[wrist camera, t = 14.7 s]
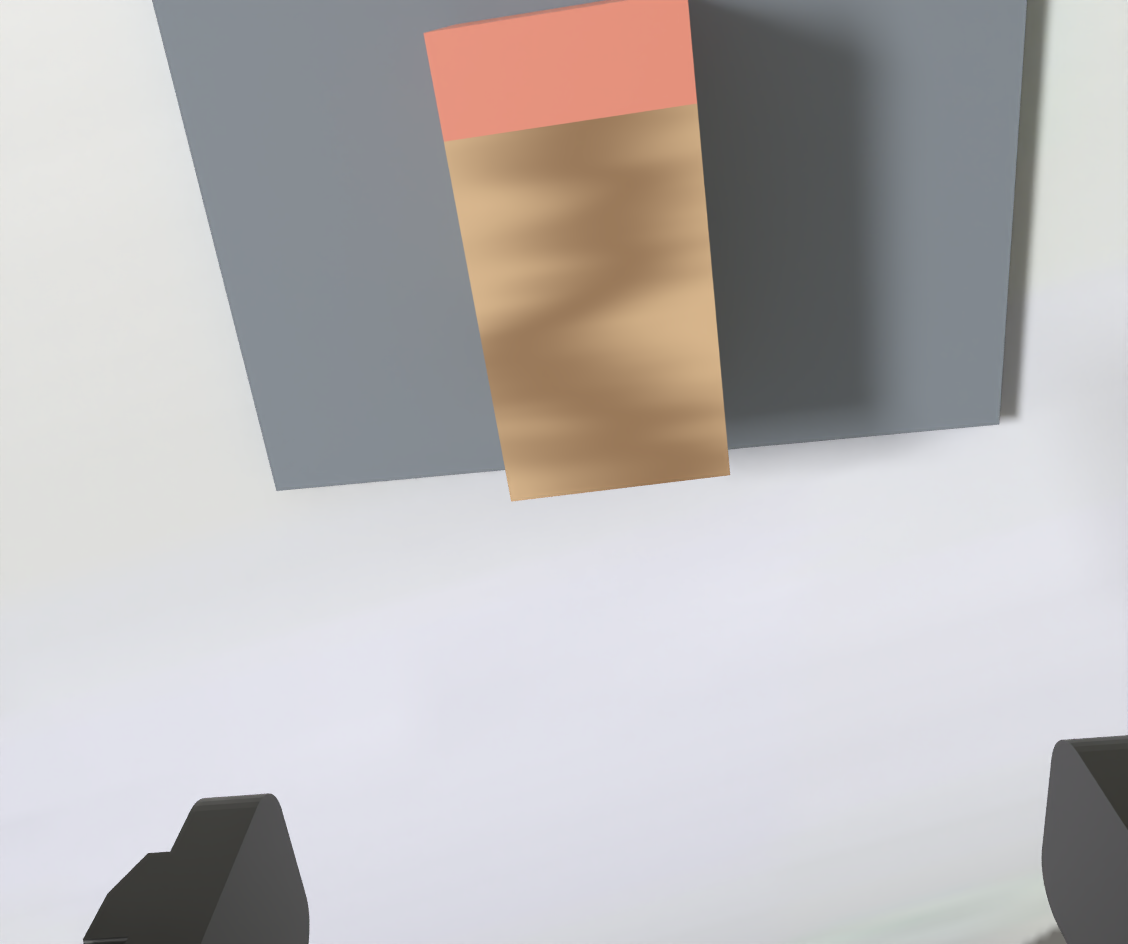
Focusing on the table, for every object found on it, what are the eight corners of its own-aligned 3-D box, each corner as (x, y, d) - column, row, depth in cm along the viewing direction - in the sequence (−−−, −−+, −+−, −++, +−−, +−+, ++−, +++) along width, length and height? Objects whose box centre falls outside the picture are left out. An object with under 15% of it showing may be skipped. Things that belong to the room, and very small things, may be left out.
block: (511, 501, 24) (423, 32, 20) (524, 419, 28) (455, 24, 24) (730, 475, 24) (686, -9, 19) (708, 395, 28) (669, -10, 24)
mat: (284, 478, 30) (276, 490, 30) (150, -59, 24) (137, -61, 24) (988, 413, 29) (998, 424, 28) (1024, -174, 23) (1039, -179, 22)
